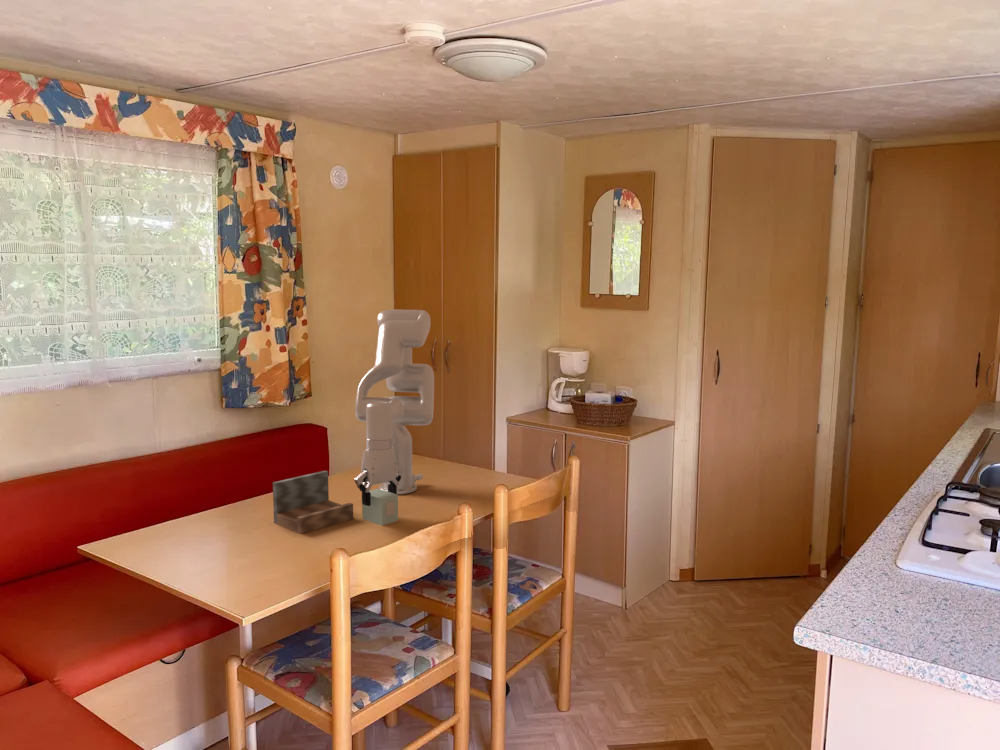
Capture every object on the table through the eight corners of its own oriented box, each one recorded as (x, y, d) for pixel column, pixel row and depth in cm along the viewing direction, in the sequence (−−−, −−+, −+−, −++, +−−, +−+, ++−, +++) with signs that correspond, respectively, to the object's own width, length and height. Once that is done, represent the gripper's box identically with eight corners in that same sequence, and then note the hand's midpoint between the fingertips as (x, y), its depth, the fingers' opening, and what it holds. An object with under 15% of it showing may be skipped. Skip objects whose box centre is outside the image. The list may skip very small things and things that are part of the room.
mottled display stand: (325, 508, 238) (324, 470, 237) (353, 518, 229) (352, 479, 228) (273, 522, 225) (272, 482, 223) (301, 533, 216) (300, 492, 214)
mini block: (378, 514, 234) (378, 488, 233) (398, 521, 228) (398, 494, 227) (362, 518, 230) (362, 492, 228) (382, 526, 223) (382, 499, 222)
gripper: (393, 438, 234) (393, 493, 236) (347, 446, 221) (347, 505, 223) (410, 441, 229) (410, 498, 231) (363, 450, 216) (364, 510, 218)
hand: (379, 501), depth 227 cm, fingers open, 9 cm apart
